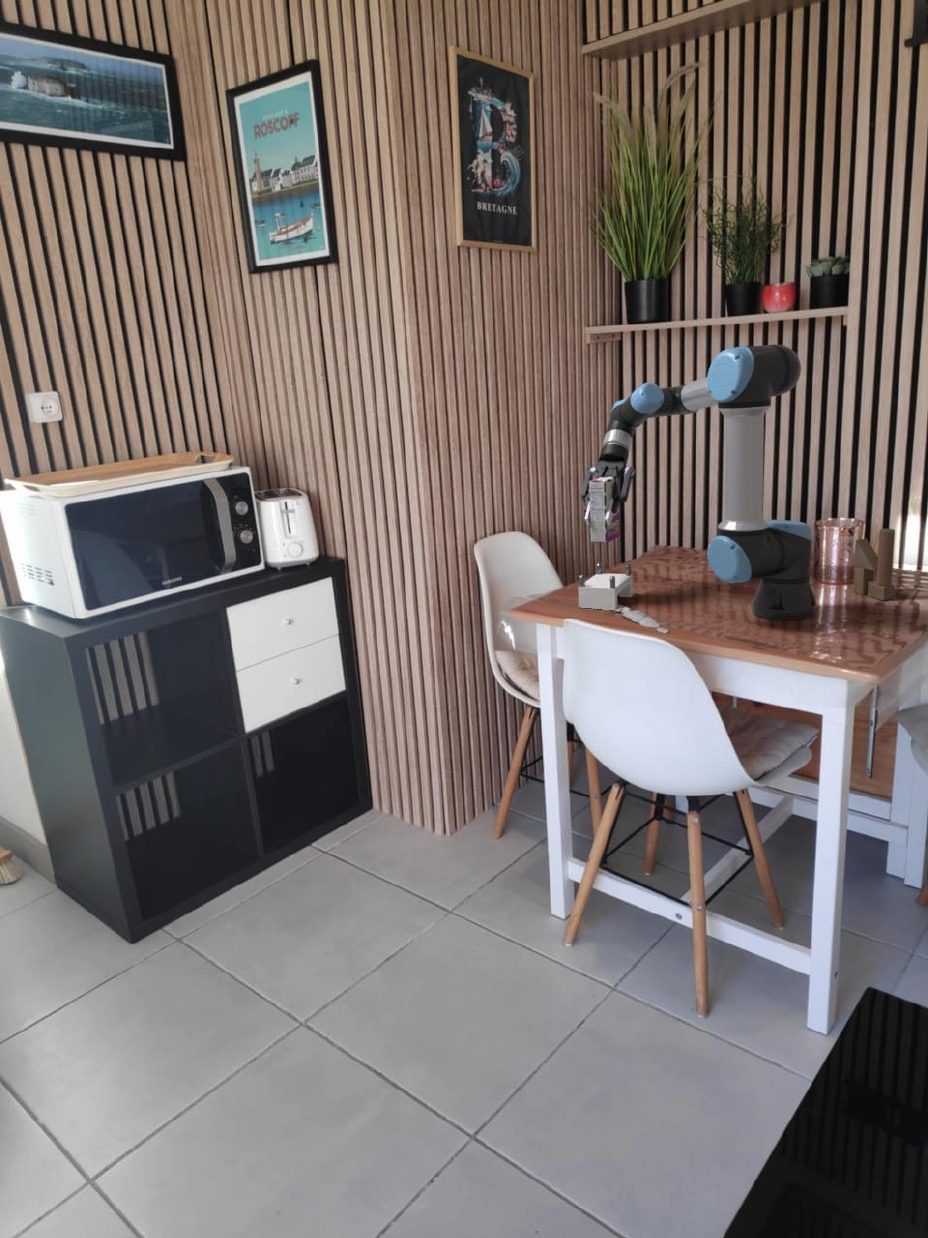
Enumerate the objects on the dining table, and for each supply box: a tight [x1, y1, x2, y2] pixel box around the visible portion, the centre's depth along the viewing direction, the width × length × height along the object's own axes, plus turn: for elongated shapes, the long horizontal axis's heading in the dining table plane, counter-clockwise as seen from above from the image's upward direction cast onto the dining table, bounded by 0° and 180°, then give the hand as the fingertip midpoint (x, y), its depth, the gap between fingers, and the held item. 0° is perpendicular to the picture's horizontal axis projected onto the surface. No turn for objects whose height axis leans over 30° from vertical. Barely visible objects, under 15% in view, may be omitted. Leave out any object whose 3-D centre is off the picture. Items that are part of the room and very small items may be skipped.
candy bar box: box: [589, 477, 621, 544], centre depth 241 cm, size 11×5×16 cm, turn 153°
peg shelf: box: [578, 562, 634, 611], centre depth 246 cm, size 10×16×9 cm, turn 153°
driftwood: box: [612, 603, 669, 634], centre depth 234 cm, size 37×5×2 cm, turn 19°
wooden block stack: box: [852, 528, 896, 601], centre depth 233 cm, size 4×11×18 cm, turn 20°
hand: (597, 521), depth 236 cm, fingers closed on candy bar box, 5 cm apart
